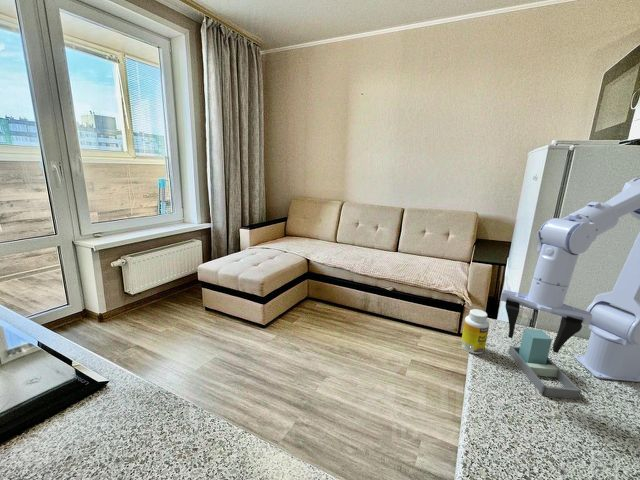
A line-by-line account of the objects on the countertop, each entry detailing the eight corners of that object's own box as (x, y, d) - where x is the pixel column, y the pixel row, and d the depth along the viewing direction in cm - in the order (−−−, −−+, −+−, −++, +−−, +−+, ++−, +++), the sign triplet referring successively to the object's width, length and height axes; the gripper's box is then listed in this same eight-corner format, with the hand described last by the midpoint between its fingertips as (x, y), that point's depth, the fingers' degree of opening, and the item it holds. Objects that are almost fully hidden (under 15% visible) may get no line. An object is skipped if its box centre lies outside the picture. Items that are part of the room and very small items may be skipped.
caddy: (538, 355, 76) (539, 348, 76) (578, 399, 62) (581, 390, 62) (508, 353, 77) (509, 346, 77) (542, 395, 63) (544, 387, 63)
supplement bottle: (476, 357, 75) (483, 320, 72) (456, 346, 79) (461, 310, 77) (488, 350, 78) (495, 314, 75) (468, 340, 82) (474, 305, 80)
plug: (535, 358, 75) (541, 330, 73) (544, 369, 71) (552, 339, 69) (517, 357, 75) (523, 328, 73) (526, 368, 72) (533, 337, 70)
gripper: (507, 275, 60) (490, 337, 63) (604, 298, 52) (580, 367, 55) (508, 267, 65) (493, 324, 69) (595, 287, 58) (574, 350, 61)
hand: (532, 343), depth 62 cm, fingers open, 7 cm apart
